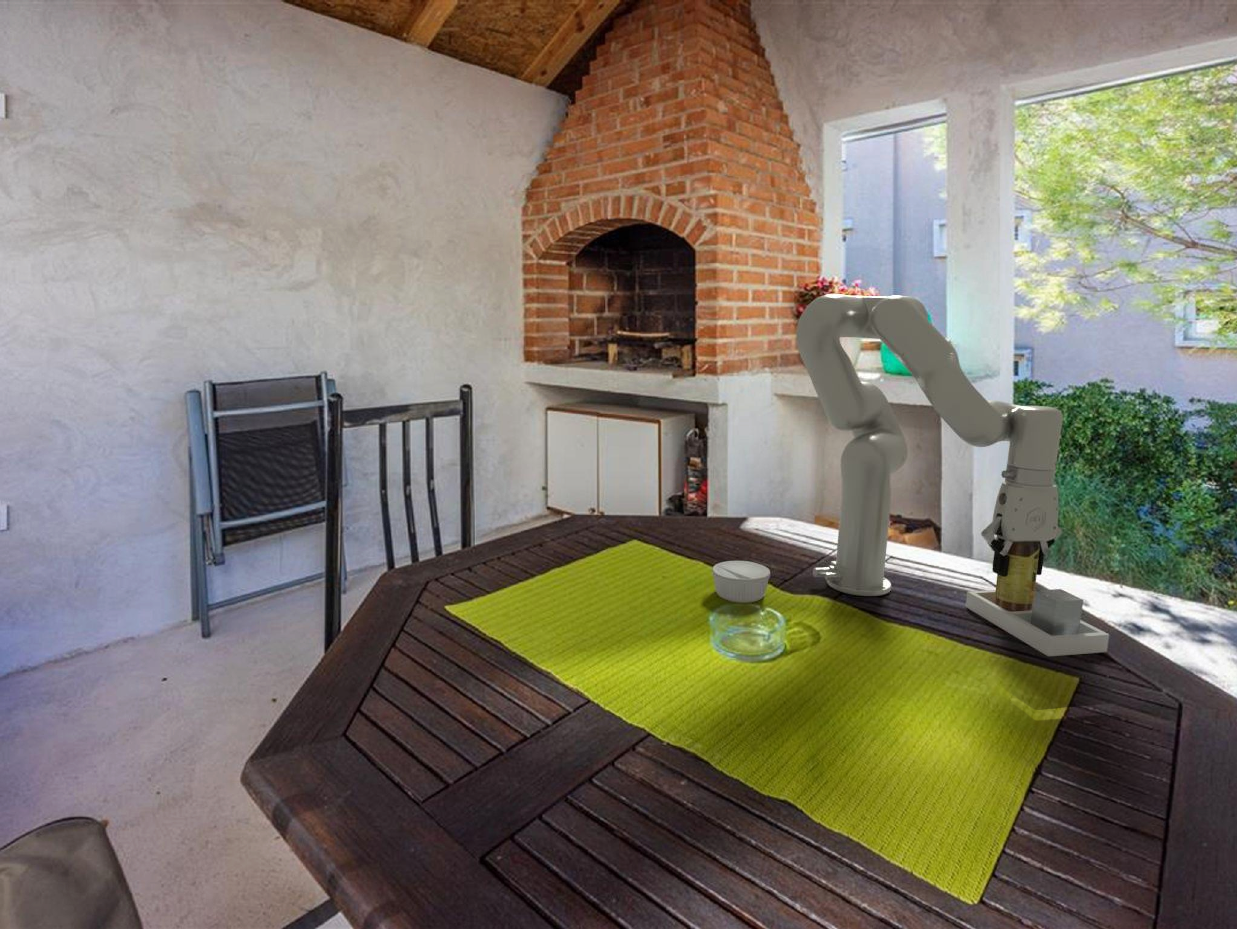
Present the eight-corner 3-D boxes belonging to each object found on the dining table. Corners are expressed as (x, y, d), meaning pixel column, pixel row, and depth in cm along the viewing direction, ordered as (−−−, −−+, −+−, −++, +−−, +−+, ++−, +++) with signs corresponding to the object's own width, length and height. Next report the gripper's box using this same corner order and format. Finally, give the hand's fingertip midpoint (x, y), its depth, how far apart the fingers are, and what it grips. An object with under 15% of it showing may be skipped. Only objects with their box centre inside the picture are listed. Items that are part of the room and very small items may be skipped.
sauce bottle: (1037, 615, 132) (1052, 507, 128) (999, 612, 133) (1012, 505, 129) (1025, 602, 138) (1038, 498, 134) (988, 599, 140) (1001, 496, 136)
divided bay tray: (1105, 657, 122) (1109, 634, 122) (1047, 661, 120) (1050, 638, 120) (1016, 608, 143) (1018, 588, 142) (964, 611, 141) (967, 591, 140)
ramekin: (704, 599, 144) (705, 573, 143) (719, 581, 154) (720, 557, 153) (762, 609, 140) (763, 582, 139) (773, 589, 150) (775, 564, 149)
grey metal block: (1050, 646, 124) (1057, 601, 122) (1029, 634, 128) (1035, 590, 127) (1076, 644, 125) (1083, 599, 123) (1054, 632, 129) (1060, 589, 128)
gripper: (1000, 482, 126) (987, 583, 129) (1088, 480, 129) (1074, 578, 133) (972, 472, 133) (960, 568, 137) (1056, 471, 136) (1043, 564, 140)
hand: (1016, 572), depth 135 cm, fingers closed on sauce bottle, 6 cm apart
